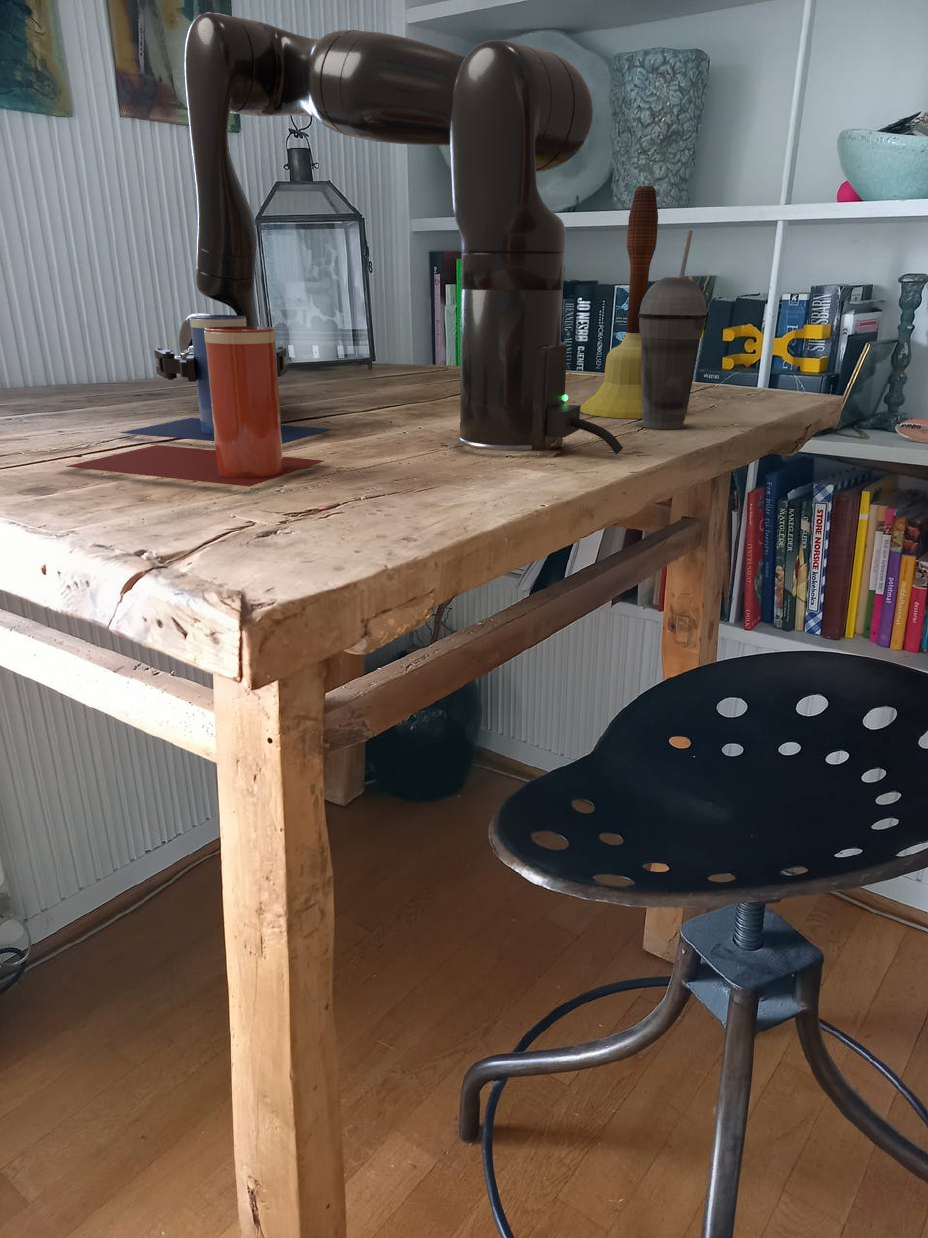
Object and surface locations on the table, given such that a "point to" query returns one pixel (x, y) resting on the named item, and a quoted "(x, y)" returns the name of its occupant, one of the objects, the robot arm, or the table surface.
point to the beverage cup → (670, 347)
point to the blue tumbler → (201, 364)
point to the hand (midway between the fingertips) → (222, 369)
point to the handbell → (630, 318)
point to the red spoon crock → (245, 400)
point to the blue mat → (193, 431)
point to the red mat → (181, 465)
